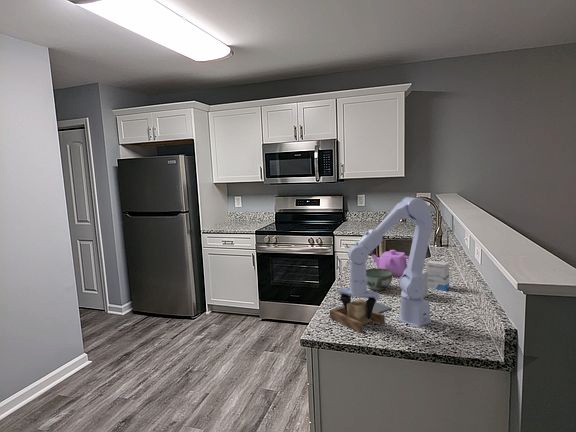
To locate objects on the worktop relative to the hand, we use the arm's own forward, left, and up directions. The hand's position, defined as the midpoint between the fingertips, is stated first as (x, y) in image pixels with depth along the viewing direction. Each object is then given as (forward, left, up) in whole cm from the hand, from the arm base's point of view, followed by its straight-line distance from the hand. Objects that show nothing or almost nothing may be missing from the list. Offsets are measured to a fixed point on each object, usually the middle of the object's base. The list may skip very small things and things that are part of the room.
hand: (358, 316), depth 128 cm
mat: (+6, -13, -2) cm, 14 cm away
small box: (+4, -38, -2) cm, 38 cm away
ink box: (+5, -53, -2) cm, 53 cm away
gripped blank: (0, 0, -2) cm, 2 cm away
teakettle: (+35, -57, -2) cm, 67 cm away
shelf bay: (+1, 0, -2) cm, 2 cm away
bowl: (+21, -32, -2) cm, 38 cm away
